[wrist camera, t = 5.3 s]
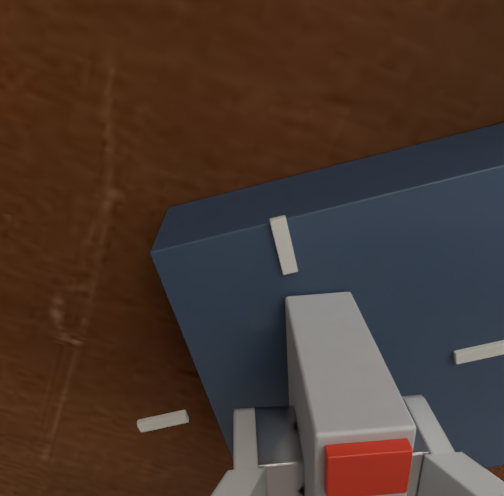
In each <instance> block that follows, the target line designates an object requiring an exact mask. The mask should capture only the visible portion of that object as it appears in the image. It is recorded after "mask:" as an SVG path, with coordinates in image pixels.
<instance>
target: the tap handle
mask: <svg viewBox="0 0 504 496" xmlns="http://www.w3.org/2000/svg"><path fill="white" fill-rule="evenodd" d="M285 311H286V336H287V361H288V386H289V406H291V405H294V407H295V412H296V418H297V433H298V434H299V435H300V441H301V446H302V452H303V458H304V472H305V485H304V486H303V488H304V494H305V496H406V495H407V489H408V482H409V475H410V469H411V462H412V455H413V448H414V442H415V435H416V425H415V423H414V421H413V419H412V417H411V415H410V413H409V411H408V409H407V406H406V404H405V402H404V400H403V398H402V396H401V394H400V392H399V390H398V388H397V386H396V384H395V382H394V380H393V378H392V376H391V374H390V372H389V370H388V368H387V366H386V364H385V362H384V359H383V357H382V355H381V353H380V351H379V349H378V347H377V345H376V343H375V341H374V339H373V337H372V335H371V333H370V331H369V329H368V327H367V325H366V323H365V321H364V319H363V317H362V315H361V312H360V310H359V308H358V306H357V304H356V302H355V300H354V298H353V296H352V294H351V292H336V293H324V294H312V295H299V296H288V297H286V299H285Z"/></svg>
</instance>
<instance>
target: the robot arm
mask: <svg viewBox="0 0 504 496" xmlns="http://www.w3.org/2000/svg"><path fill="white" fill-rule="evenodd" d="M402 398H403V400H404V402H405V404H406V406H407V409H408V411H409V413H410V415H411V417H412V419H413V421H414V423H415V425H416V435H415V442H414V448H413V455H412V462H411V469H410V475H409V482H408V489H407V495H406V496H504V482H503V481H502V480H501V479H499V478H498V477H496V476H495V475H494V474H492V473H491V472H489V471H488V470H487V469H485V468H484V467H482V466H481V465H480V464H478V463H477V462H475V461H474V460H473V459H471V458H470V457H468V456H467V455H466V454H464V453H463V452H455V451H454V449H453V447H452V445H451V444H450V442H449V440H448V438H447V437H446V435H445V433H444V431H443V429H442V428H441V426H440V424H439V422H438V421H437V419H436V417H435V415H434V413H433V412H432V410H431V408H430V406H429V405H428V403H427V401H426V399H425V398H424V397H423V396H422V395H411V396H402ZM255 417H256V419H255ZM304 485H305V472H304V458H303V452H302V446H301V441H300V435H299V434H298V433H297V418H296V412H295V407H294V405H291V406H272V407H255V408H240V409H234V414H233V470H227V471H226V473H225V474H224V476H223V478H222V479H221V481H220V482H219V484H218V485H217V487H216V488H215V490H214V491H213V493H212V494H211V496H305V494H304V488H303V486H304Z"/></svg>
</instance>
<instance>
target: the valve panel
mask: <svg viewBox="0 0 504 496" xmlns="http://www.w3.org/2000/svg"><path fill="white" fill-rule="evenodd" d="M150 255H151V257H152V260H153V262H154V265H155V267H156V270H157V272H158V275H159V277H160V280H161V282H162V285H163V287H164V290H165V292H166V295H167V297H168V300H169V302H170V305H171V307H172V310H173V312H174V315H175V317H176V320H177V322H178V324H179V327H180V329H181V332H182V334H183V337H184V339H185V342H186V344H187V347H188V349H189V352H190V354H191V357H192V359H193V362H194V364H195V367H196V369H197V372H198V374H199V377H200V379H201V382H202V384H203V387H204V389H205V392H206V394H207V397H208V399H209V402H210V404H211V407H212V409H213V411H214V414H215V416H216V419H217V421H218V424H219V426H220V429H221V431H222V434H223V436H224V439H225V441H226V444H227V446H228V449H229V451H230V454H231V456H232V459H233V414H234V409H240V408H255V407H272V406H289V386H288V361H287V336H286V311H285V299H286V297H288V296H299V295H312V294H324V293H336V292H351V294H352V296H353V298H354V300H355V302H356V304H357V306H358V308H359V310H360V312H361V315H362V317H363V319H364V321H365V323H366V325H367V327H368V329H369V331H370V333H371V335H372V337H373V339H374V341H375V343H376V345H377V347H378V349H379V351H380V353H381V355H382V357H383V359H384V362H385V364H386V366H387V368H388V370H389V372H390V374H391V376H392V378H393V380H394V382H395V384H396V386H397V388H398V390H399V392H400V394H401V396H411V395H422V396H423V397H424V398H425V399H426V401H427V403H428V405H429V406H430V408H431V410H432V412H433V413H434V415H435V417H436V419H437V421H438V422H439V424H440V426H441V428H442V429H443V431H444V433H445V435H446V437H447V438H448V440H449V442H450V444H451V445H452V447H453V449H454V451H455V452H463V453H464V454H466V455H467V456H468V457H470V458H471V459H473V460H474V461H475V462H477V463H478V464H480V465H481V466H482V467H484V468H490V467H495V466H500V465H504V123H500V124H496V125H492V126H488V127H484V128H480V129H476V130H472V131H468V132H464V133H460V134H456V135H452V136H448V137H444V138H441V139H437V140H433V141H429V142H425V143H421V144H417V145H413V146H409V147H405V148H401V149H397V150H393V151H389V152H385V153H381V154H377V155H374V156H370V157H366V158H362V159H358V160H354V161H350V162H346V163H342V164H338V165H334V166H330V167H326V168H322V169H318V170H314V171H310V172H307V173H303V174H299V175H295V176H291V177H287V178H283V179H279V180H275V181H271V182H267V183H263V184H259V185H255V186H251V187H247V188H243V189H239V190H236V191H232V192H228V193H224V194H220V195H216V196H212V197H208V198H204V199H200V200H196V201H192V202H188V203H184V204H180V205H176V206H172V207H169V208H168V210H167V212H166V215H165V217H164V219H163V222H162V224H161V227H160V229H159V231H158V234H157V236H156V239H155V241H154V243H153V246H152V248H151V251H150ZM255 419H256V417H255ZM188 422H189V417H188V415H187V412H186V410H180V411H175V412H171V413H166V414H162V415H157V416H153V417H148V418H143V419H139V420H137V426H138V428H139V430H140V432H141V433H142V432H146V431H151V430H156V429H160V428H165V427H170V426H174V425H179V424H183V423H188Z"/></svg>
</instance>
